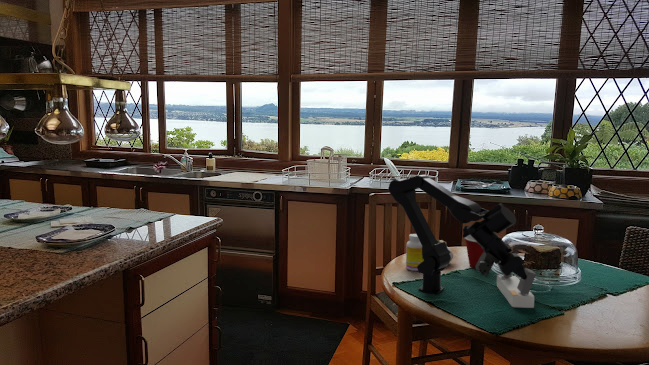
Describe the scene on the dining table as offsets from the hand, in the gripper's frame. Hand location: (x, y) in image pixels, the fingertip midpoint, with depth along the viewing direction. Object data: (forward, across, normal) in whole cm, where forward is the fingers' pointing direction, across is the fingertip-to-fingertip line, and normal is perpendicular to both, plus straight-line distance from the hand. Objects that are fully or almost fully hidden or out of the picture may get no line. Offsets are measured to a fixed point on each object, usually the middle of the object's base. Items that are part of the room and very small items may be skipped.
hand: (525, 278), depth 130 cm
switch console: (+5, -8, -6) cm, 12 cm away
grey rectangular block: (+3, -1, -4) cm, 5 cm away
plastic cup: (+1, -37, -11) cm, 39 cm away
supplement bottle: (-15, -31, -28) cm, 45 cm away
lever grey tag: (+3, -15, -4) cm, 16 cm away
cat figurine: (-10, -42, -22) cm, 48 cm away
